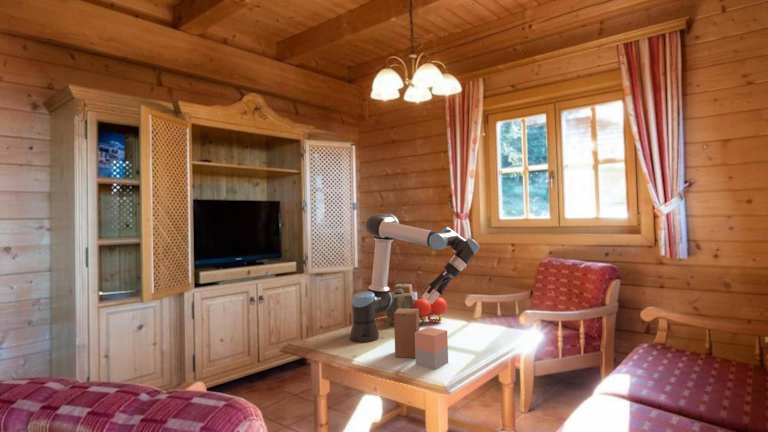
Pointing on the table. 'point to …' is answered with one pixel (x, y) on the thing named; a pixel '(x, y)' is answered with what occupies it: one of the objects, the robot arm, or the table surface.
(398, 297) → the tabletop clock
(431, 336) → the tower top
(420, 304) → the molecule
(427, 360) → the tower base
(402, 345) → the wooden block
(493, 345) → the table surface
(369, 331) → the robot arm
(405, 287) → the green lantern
